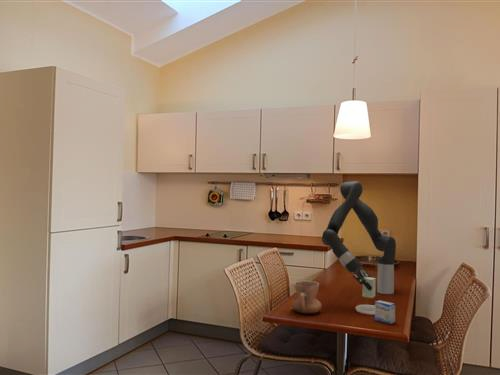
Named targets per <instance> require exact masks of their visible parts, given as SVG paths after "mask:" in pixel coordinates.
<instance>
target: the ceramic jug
mask: <svg viewBox="0 0 500 375" xmlns="http://www.w3.org/2000/svg"><path fill="white" fill-rule="evenodd" d="M293 286H294V289H295V292H296V295H297V297H298V298H296V299H294V300H293V302H292V304H291V307H292V309H293V310H294V311H295V312H297V313H300V314H303V315H305V314H306V315H312V314H313V315H314V314H317V313H318V312H320V311H321V309H322V307H323V305H322V302H321V301H319V299H317V298H316V296H317V294H318V291H319V287H320V283H319V282H318V281H314V280H311V281H310V280H299V281H296V282H294V283H293Z"/></svg>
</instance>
